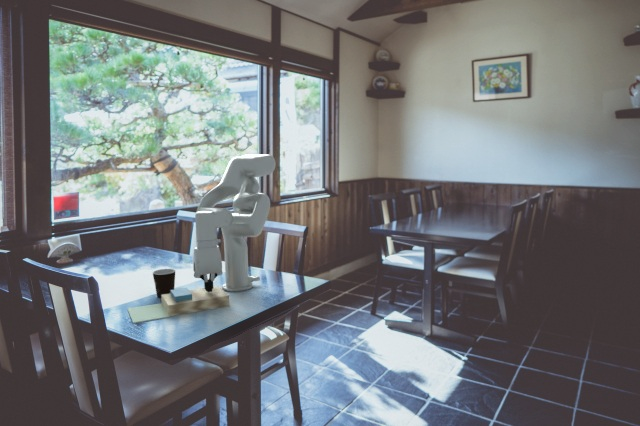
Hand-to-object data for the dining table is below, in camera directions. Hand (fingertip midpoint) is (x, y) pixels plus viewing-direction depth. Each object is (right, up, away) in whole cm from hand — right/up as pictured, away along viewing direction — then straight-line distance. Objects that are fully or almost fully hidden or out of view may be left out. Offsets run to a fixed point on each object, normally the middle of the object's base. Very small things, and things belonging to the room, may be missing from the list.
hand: (209, 291), depth 184 cm
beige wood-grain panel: (-5, -5, -2) cm, 7 cm away
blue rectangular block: (-9, -2, -5) cm, 10 cm away
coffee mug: (-20, -4, +12) cm, 23 cm away
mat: (-20, -7, -10) cm, 23 cm away
